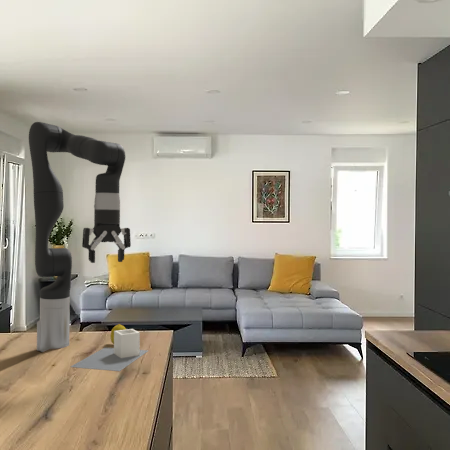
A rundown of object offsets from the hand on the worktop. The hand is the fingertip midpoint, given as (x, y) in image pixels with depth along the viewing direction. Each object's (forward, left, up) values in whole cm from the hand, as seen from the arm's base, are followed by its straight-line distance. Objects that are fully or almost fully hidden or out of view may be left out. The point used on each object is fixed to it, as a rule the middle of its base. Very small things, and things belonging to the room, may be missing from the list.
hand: (106, 262), depth 151 cm
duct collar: (+5, +4, -29) cm, 29 cm away
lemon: (-3, +16, -30) cm, 34 cm away
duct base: (+3, -1, -30) cm, 30 cm away
